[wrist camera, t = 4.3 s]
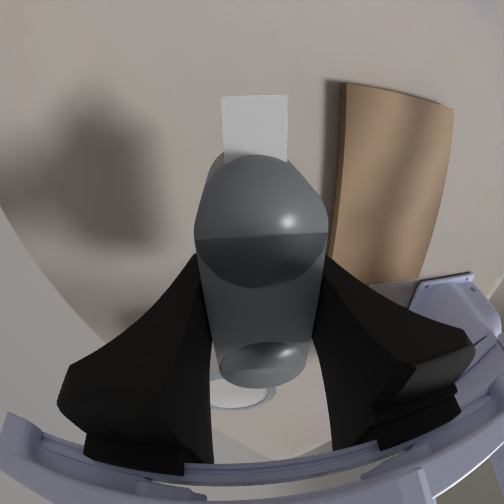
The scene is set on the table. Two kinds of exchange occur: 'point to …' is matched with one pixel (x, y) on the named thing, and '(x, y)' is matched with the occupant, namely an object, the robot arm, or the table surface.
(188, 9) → the table surface
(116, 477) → the robot arm
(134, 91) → the table surface
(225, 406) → the white cup
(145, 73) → the table surface
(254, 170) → the connector plug
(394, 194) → the walnut board
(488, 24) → the table surface
